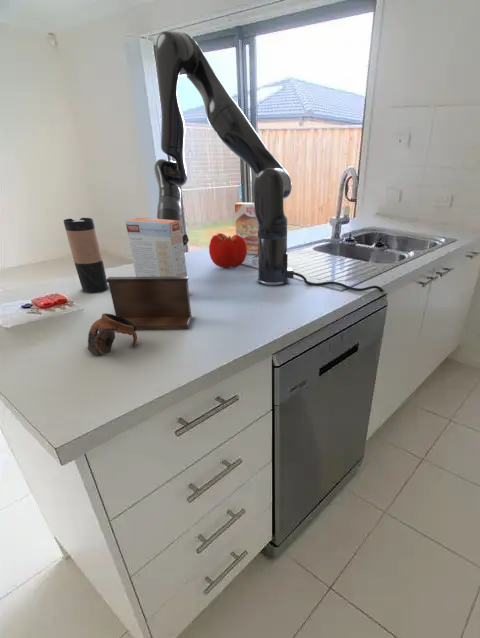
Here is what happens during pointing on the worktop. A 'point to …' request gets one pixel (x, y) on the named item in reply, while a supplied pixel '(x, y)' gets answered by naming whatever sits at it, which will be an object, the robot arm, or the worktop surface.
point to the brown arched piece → (108, 332)
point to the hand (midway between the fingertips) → (167, 262)
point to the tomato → (227, 250)
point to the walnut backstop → (152, 301)
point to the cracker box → (156, 247)
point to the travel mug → (86, 254)
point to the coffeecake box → (247, 225)
